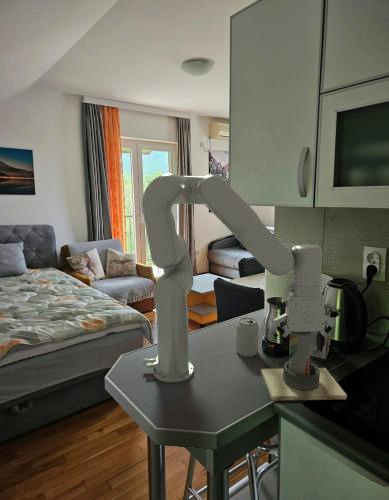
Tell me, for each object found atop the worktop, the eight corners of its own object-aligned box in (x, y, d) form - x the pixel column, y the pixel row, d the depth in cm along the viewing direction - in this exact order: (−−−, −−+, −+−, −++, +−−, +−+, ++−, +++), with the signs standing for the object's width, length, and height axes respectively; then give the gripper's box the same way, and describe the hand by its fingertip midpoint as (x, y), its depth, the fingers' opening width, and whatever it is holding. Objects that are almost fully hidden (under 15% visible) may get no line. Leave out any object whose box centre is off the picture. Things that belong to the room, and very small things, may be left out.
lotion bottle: (310, 379, 96) (314, 313, 92) (306, 388, 91) (310, 320, 87) (291, 373, 98) (294, 310, 95) (285, 383, 94) (288, 316, 90)
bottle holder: (272, 400, 88) (272, 382, 87) (260, 372, 101) (261, 356, 101) (346, 399, 88) (347, 381, 87) (325, 371, 102) (326, 355, 101)
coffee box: (311, 344, 120) (313, 302, 118) (330, 348, 117) (333, 305, 114) (305, 355, 112) (308, 309, 110) (325, 359, 109) (328, 313, 107)
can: (257, 359, 110) (258, 325, 108) (235, 356, 111) (235, 323, 109) (258, 348, 117) (258, 316, 115) (236, 347, 119) (237, 315, 117)
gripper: (277, 294, 86) (275, 355, 89) (343, 293, 87) (338, 354, 89) (270, 286, 94) (268, 342, 96) (330, 285, 94) (327, 342, 97)
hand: (302, 348), depth 93 cm, fingers open, 9 cm apart
